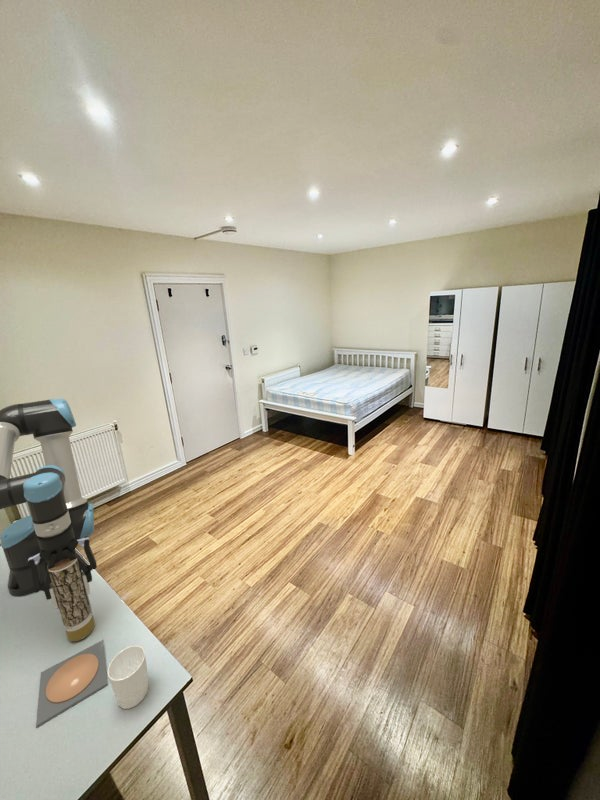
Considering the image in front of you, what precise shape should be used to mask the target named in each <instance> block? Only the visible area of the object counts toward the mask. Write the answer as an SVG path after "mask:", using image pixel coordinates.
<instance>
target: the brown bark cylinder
mask: <svg viewBox="0 0 600 800" xmlns="http://www.w3.org/2000/svg"><path fill="white" fill-rule="evenodd" d="M78 555H79V554H78ZM78 555H77V556H78ZM47 568H48V567H47ZM48 571H49V575H50V578H51V582H52V586H53V589H54V593H55V596H56V600H57V603H58V610H59V613H60V618H61V620H62V624H63V627H64V630H65V634H66V637H67V640H68V641H70V642H78V641H81V640H83V639H85V638H86V637H88V636H89V635H90V634H91V632H92V631H93V629H95V628H94V627H95V625H96V624H95V619H94V615H93V610H92V606H91V603H90V598H89V595H87V593H86V589H85V585H84V581H83V577H82V570H81V569H80V567H79V563H78V559H77V558H75V559H73V560H72V561H71V560H70V559H69V558H67V559H63V560H61V561H59V562H57V563H55V565H54V567H52V568H49V569H48Z"/></svg>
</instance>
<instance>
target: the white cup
mask: <svg viewBox="0 0 600 800" xmlns="http://www.w3.org/2000/svg"><path fill="white" fill-rule="evenodd" d="M107 667H108V668H107V678H108V679H109V680H108V681H109V683H110V685H111V688H112V691H113V693H114V697H115V698H116V702H117V704H118V706H119V707H120V708H121V709H123V710H130V709H132V708H133V707H136V706H137V705H139V704H140V703H141V702H142V701H143V699H144V698H145V697H146V695H147V693H148V691H149V685H150V684H149V678H148V677H149V675H148V673H149V672H148V664H147V658H146V652H145V649H144V648H143V647H142V646H140V645H130V646H128V647H124V649H122V650H120V651H119V652H118V653H117V654H116V655H115V656H114V657H112V660H111V661H110V663H109V665H108V666H107Z"/></svg>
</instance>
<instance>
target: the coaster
mask: <svg viewBox="0 0 600 800" xmlns="http://www.w3.org/2000/svg"><path fill="white" fill-rule="evenodd" d="M106 661H107V660H106V653H105V644H104V639H102V640H100V641H98V642H96V643H94V644H92V645H91V646H88V647H87V648H85V649H83V650H81V651H79V652H77V653H75V654H73V655H71V656H70V657H67V658H66V659H64V660H62V661H60V662H58V663H56V664H55V665H52V666H50V667H48V668H46V669H45V670H43V671H41V672H40V678H39V679H40V680H39V690H38V699H37V708H36V711H37V712H36V721H35V728H39V727H40V726H43V725H45V723H47V722H49V721H50V720H52V719H55V717H57V716H60V714H62V713H65V712H66V711H68V710H69V709H71V708H72V707H74V706H76V705H77V704H79V703H80V702H82V701H83V700H86V699H87V698H89V697H91V696H92V695H94V694H96V693H98V692H99V691H101V690H102V689H104V688H106V687H107V686H108V685H109V680H108V669H107V663H106Z"/></svg>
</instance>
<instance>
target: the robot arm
mask: <svg viewBox="0 0 600 800" xmlns="http://www.w3.org/2000/svg"><path fill="white" fill-rule="evenodd" d="M76 426H77V423H76V420H75V418H74V415H73V412H72V410H71V407H70V405H69V403H68V401H67V400H66V399H65V398H54V399H53V398H51V399H46V400H45V399H44V400H38V401H31V402H24V403H16V404H12V405H8V406H6V407H4V408H1V409H0V510H3V509H6V508H10V507H13V506H19V505H21V504H27V507H28V510H29V513H30V514H29V515H27V516H23V517H22V518H20V519H17V520H16V521H14V522H13V523H11V524H10V525H8V526H6V528H4V530H2V532H1V534H0V543H1V549H2V550H3V553H4V556H5V559H6V563H7V566H8V568H9V574H8V581H7V589H8V592H9V594H10V595H11V596H13V597H23V596H28V595H31V594H34V593H36V594H37V593H39V592H40V591H41V592H44V595H45V598H46V600H47V601H48V600H52V605H53V608H54V610H57V609H59V607H58V603H57V600H56V596H55V593H54V589H53V586H52V582H51V578H50V575H49V571H48V569H49V568H52V567H54V565H55V563H57V562H59V561H61V560H63V559H67V558H69V559H70V560H71V561H72V560H73V559H75V558H77V559H78V563H79V567H80V569H81V570H82V577H83V581H84V585H85V589H86V593H87V595H88V596H89V595H91V587H90V584H89V583H91V582H92V581H93V575H92V571H93V570H95V569H97V567H98V566H97V565H98V564H97V560H96V558H95V555H94V553H93V550H92V548H91V546H90V536H91V535H93V533H94V531H95V519H94V518H95V515H94V504H93V503H89V502H88V499H87V498H85V497H83V495H82V492H81V486H80V483H79V477H78V473H77V468H76V463H75V460H74V454H73V450H72V444H71V440H70V436H71V435H72V434H73V428H75V427H76ZM30 435H32V436H33V439H34V440H35V441H37V442H39V443H40V447H41V452H42V457H43V460H44V466H41V467H39V468H38V469H37V470H36V471H35V472H31V473H28V474H23V475H20V476H14V477H11V472H12V464H13V457H14V450H15V444H16V442H17V441H18V440H19V439H20V437H23V436H30ZM78 545H80V547H81V548H83V550H84V553H85V556H86V558H87V560H88V562H89V564H88V562H86V561H85V560H84V558H83V557H82V556H81V555H80V554H79V553H78V552H77V550H76V548H77V547H78ZM77 555H78V556H77ZM47 567H48V568H47Z"/></svg>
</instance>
